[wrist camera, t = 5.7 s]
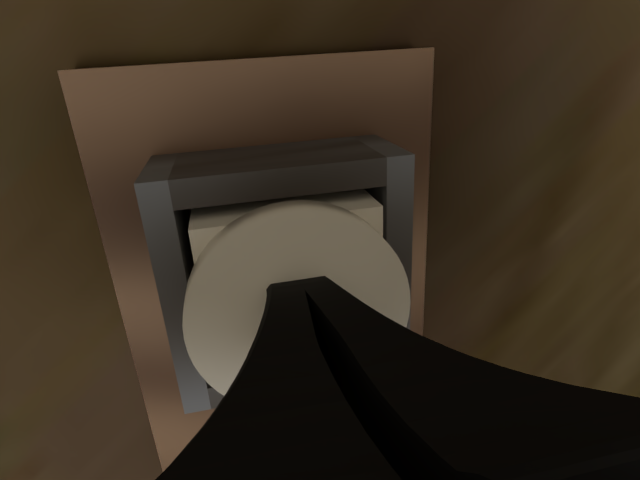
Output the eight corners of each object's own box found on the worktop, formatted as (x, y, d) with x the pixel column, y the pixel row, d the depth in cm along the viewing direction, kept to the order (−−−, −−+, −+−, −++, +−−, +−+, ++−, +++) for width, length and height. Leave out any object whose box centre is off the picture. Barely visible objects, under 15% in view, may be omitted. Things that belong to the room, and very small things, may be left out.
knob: (177, 174, 13) (161, 228, 9) (356, 156, 14) (413, 197, 10) (206, 331, 15) (202, 430, 11) (360, 306, 16) (408, 390, 12)
